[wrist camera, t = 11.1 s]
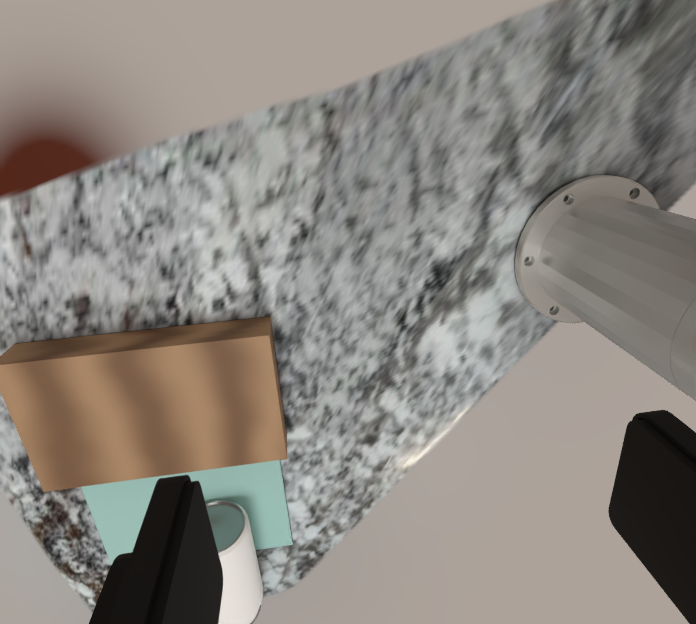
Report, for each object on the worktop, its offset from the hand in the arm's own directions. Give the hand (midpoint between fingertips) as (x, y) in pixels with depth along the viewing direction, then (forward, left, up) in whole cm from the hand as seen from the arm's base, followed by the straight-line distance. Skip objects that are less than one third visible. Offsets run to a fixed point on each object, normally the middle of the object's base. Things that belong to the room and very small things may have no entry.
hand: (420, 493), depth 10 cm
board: (+15, +14, -28) cm, 35 cm away
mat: (+15, +27, -28) cm, 42 cm away
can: (+12, +26, -25) cm, 38 cm away
